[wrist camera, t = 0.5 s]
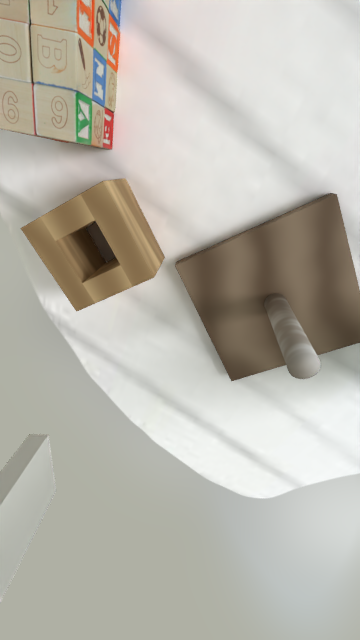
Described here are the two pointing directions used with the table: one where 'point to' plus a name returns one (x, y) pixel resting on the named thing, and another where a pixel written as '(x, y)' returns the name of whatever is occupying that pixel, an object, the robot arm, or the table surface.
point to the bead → (82, 254)
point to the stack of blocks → (59, 69)
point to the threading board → (278, 292)
